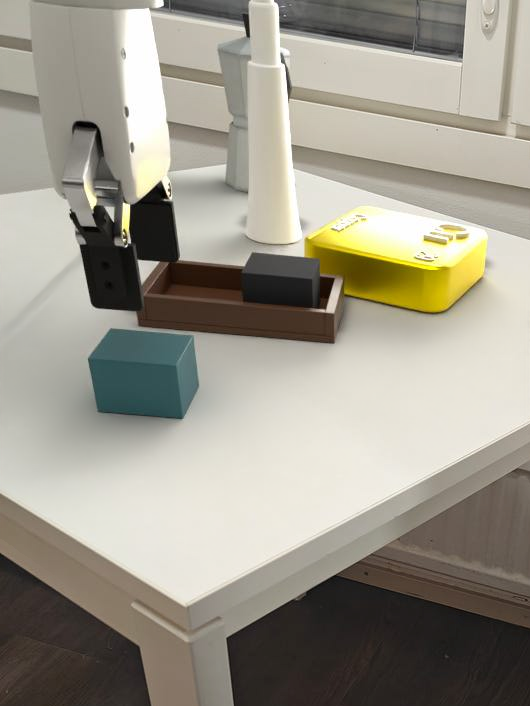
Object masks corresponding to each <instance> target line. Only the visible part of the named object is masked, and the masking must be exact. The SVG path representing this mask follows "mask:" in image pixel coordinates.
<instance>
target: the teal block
mask: <svg viewBox="0 0 530 706" xmlns="http://www.w3.org/2000/svg"><path fill="white" fill-rule="evenodd" d="M87 363H88V368H89V372H90V378H91V382H92V388H93V394H94V400H95V405H96V410H97V412H99V413H102V412H103V413H110V414H111V413H112V414H124V415H137V416H147V417H148V416H149V417H163V418H172V419H173V418H175V419H184V417H185V415H186V412H187V411H188V410H189V409H188V408H189V407H190V405H191V403H192V401H193V399H194V397H195V395H196V393H197V392H198V391H197V390H198V389H199V387H200V382H199V373H198V364H197V354H196V344H195V336H194V334H193V335H192V334H181V333H172V332H171V333H170V332H159V331H149V330H135V329H124V328H115V327H114V328H113V327H111V328H109V330H108V331H107V332H106V333H105V335H104V336H103V338H102V339H101V340H100V341H99V343H98V344H97V346H96V347H95V348H94V349H93V350H92V352H91V353H90V355H89V356H88V357H87Z"/></svg>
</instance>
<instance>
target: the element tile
mask: <svg viewBox="0 0 530 706" xmlns="http://www.w3.org/2000/svg"><path fill="white" fill-rule="evenodd" d="M487 246H488V235H487V233H486V232H485V230H484V229H481V228H476V227H473V226H467V225H464V224H460V223H459V224H458V223H453V222H448V221H444V220H443V221H442V220H437V219H432V218H427V217H423V216H418V215H413V214H408V213H403V212H398V211H393V210H388V209H384V208H379V207H373V206H366V205H365V206H360V207H357V208H355V209H353V210H351V211H348V212H346V213H345V214H343V215H342V216H340V217H338V218H335V219H334V220H332V221H330V222H328V223H327V224H325V225H324V226H321V227H320V228H318V229H316V230H315V231H312V232H311V233H309V234H307V235H306V236H305V237H304V241H303V249H304V250H303V251H304V252H303V253H304V257H307V258H318V259H320V274H330V275H341V276H344V296H349V297H354V298H357V299H358V298H359V299H363V300H367V301H372V302H377V303H381V304H386V305H389V306H390V305H391V306H395V307H399V308H403V309H409V310H412V311H417V312H422V313H432V314H435V313H441V312H444V311H446V310H448V309H449V308H451V306H453V305H454V304H455V303H456V302H457V301H458V300H459V299H460V298H461V297H462V296H463V295H464V294H466V292H467V291H468V290H470V289H471V288H472V287H473V286H474V285H475V284H476V283H477V282H478V281H479V280H480V279H481V278H482V277H483V276H484V274H485V265H486V256H487Z"/></svg>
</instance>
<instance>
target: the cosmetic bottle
mask: <svg viewBox="0 0 530 706" xmlns="http://www.w3.org/2000/svg"><path fill="white" fill-rule="evenodd" d="M248 12H249V24H250V43H251V61H248V63H247V92H248V144H249V192H247V195H248V197H247V213H246V224H245V235H246V237H248V239H250V240H252V241H254V242H258V243H262V244H266V245H289V244H293V243H297V242H299V241H300V240H301V239H302V237H303V232H302V229H301V223H300V218H299V217H300V216H299V211H298V210H299V209H298V204H297V196H296V187H294V177H293V171H294V166H292V165H293V153H292V142H291V141H292V140H291V128H290V115H289V114H290V113H289V103H288V98H287V86H286V75H285V66H284V65H283V64H282V63H280V47H281V41H280V16H279V5H278V4H277V2H275V0H249V1H248Z"/></svg>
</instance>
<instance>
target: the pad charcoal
mask: <svg viewBox="0 0 530 706" xmlns="http://www.w3.org/2000/svg"><path fill="white" fill-rule="evenodd" d="M243 266H244V268H243V270H242V272H241V279H242V294H243V302H248V303H259V304H270V305H281V306H292V307H303V308H314V309H318V308H319V305H320V259H318V258H307V257H305V256H295V255H286V254H285V255H284V254H276V253H275V254H274V253H266V252H256V251H255V252H254V251H252V252H251V254H250V256H249V257H248V259H247V261H246V263H245V265H243Z"/></svg>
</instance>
